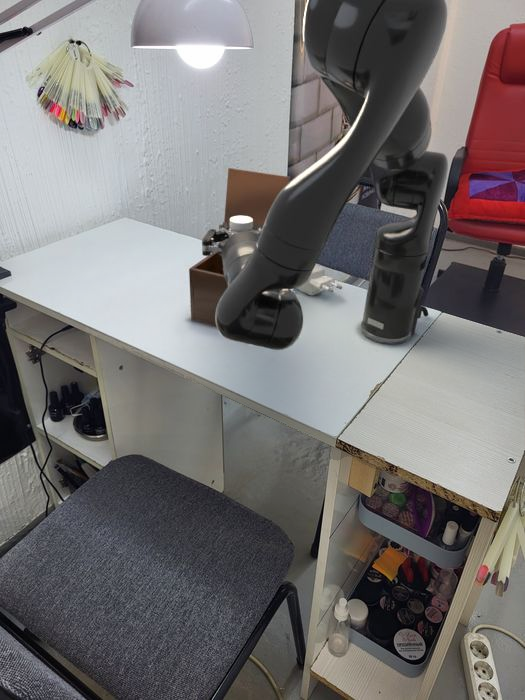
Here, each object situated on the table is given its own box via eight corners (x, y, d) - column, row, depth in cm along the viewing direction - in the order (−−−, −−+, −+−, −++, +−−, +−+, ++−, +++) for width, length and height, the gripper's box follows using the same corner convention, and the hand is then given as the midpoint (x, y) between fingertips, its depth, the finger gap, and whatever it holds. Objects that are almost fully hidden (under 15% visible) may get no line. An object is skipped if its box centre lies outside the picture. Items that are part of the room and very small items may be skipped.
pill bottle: (239, 258, 96) (240, 212, 91) (259, 265, 93) (261, 219, 89) (221, 265, 93) (221, 218, 88) (241, 272, 90) (242, 225, 86)
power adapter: (343, 301, 111) (346, 275, 107) (327, 307, 108) (330, 281, 105) (306, 283, 118) (308, 258, 115) (290, 288, 115) (292, 263, 112)
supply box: (249, 335, 97) (251, 282, 91) (191, 320, 101) (188, 268, 96) (277, 305, 108) (280, 256, 102) (223, 292, 112) (223, 245, 106)
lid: (289, 177, 96) (290, 176, 96) (228, 168, 100) (230, 167, 101) (279, 254, 101) (281, 254, 102) (222, 243, 106) (224, 242, 106)
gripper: (297, 240, 77) (281, 206, 91) (199, 241, 75) (198, 206, 89) (293, 287, 80) (278, 247, 95) (200, 288, 79) (199, 247, 93)
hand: (239, 227), depth 92 cm, fingers closed on pill bottle, 4 cm apart
